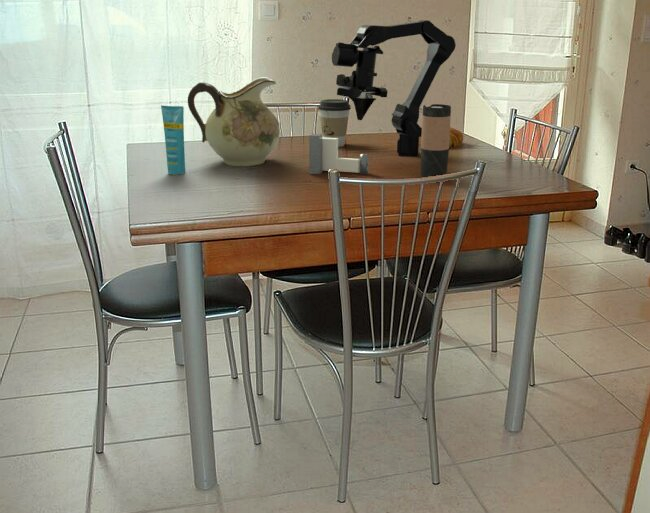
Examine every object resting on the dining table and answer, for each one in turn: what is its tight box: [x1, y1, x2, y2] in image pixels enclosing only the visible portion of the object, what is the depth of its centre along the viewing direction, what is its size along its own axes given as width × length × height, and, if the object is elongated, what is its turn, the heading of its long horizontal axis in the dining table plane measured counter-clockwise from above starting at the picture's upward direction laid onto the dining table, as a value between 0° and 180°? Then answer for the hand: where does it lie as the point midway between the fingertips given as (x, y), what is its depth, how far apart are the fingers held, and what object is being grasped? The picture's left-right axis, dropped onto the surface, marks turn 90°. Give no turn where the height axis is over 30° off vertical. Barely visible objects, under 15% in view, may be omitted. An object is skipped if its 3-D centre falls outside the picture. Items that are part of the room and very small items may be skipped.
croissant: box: [449, 126, 464, 149], centre depth 248 cm, size 14×16×8 cm
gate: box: [322, 137, 360, 173], centre depth 208 cm, size 14×2×9 cm, turn 74°
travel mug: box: [420, 103, 452, 178], centre depth 198 cm, size 8×8×20 cm
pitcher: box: [187, 76, 281, 167], centre depth 218 cm, size 22×24×25 cm
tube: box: [160, 104, 186, 176], centre depth 205 cm, size 7×5×19 cm, turn 72°
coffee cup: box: [317, 98, 352, 148], centre depth 246 cm, size 11×11×15 cm
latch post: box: [308, 133, 323, 175], centre depth 206 cm, size 3×3×11 cm
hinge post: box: [359, 153, 370, 175], centre depth 207 cm, size 2×2×6 cm
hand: (359, 120), depth 224 cm, fingers closed
